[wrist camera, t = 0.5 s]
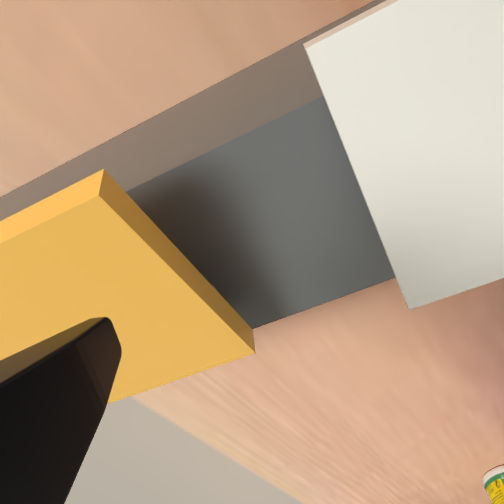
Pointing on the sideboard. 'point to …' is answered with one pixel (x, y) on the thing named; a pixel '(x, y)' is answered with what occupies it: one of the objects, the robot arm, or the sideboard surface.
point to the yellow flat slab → (112, 287)
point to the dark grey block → (246, 188)
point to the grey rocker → (424, 135)
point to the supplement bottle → (495, 484)
